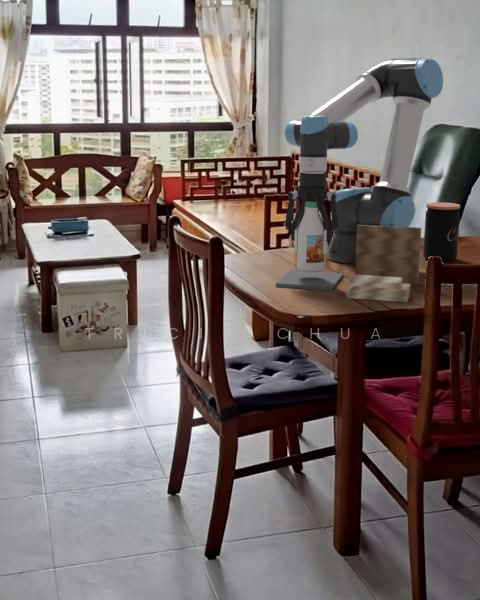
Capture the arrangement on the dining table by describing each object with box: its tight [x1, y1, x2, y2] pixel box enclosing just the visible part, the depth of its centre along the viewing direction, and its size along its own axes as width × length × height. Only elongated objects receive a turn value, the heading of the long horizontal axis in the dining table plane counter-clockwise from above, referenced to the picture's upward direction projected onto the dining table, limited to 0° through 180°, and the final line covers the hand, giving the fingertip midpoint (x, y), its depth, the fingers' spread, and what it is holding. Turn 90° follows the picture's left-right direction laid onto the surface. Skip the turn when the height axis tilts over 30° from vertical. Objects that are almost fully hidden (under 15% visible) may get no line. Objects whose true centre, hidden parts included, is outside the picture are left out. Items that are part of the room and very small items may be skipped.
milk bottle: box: [296, 201, 326, 272], centre depth 239 cm, size 8×8×20 cm
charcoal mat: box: [275, 269, 344, 292], centre depth 243 cm, size 16×18×1 cm
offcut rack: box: [345, 225, 422, 303], centre depth 233 cm, size 18×26×16 cm
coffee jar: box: [422, 201, 461, 263], centre depth 272 cm, size 11×11×18 cm
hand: (310, 252), depth 241 cm, fingers closed on milk bottle, 8 cm apart
